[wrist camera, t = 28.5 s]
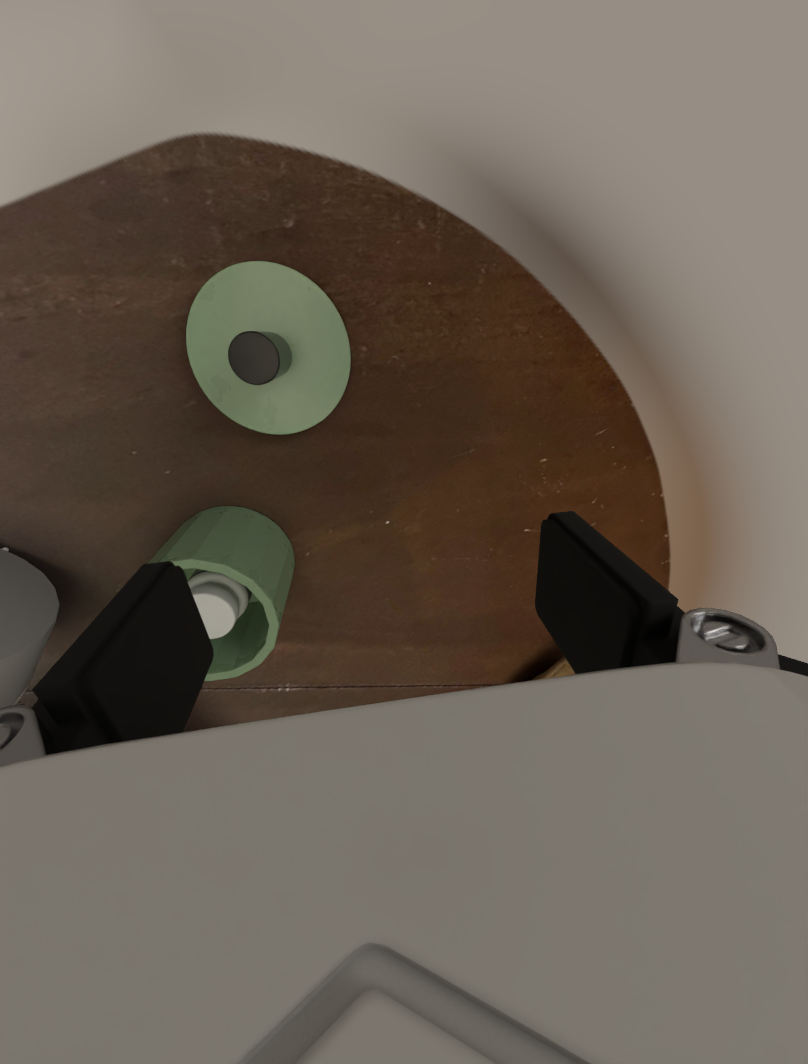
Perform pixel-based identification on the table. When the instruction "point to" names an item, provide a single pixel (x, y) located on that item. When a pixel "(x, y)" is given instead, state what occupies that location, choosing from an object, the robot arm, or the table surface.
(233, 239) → the table surface
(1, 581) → the alarm clock
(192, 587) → the pill bottle
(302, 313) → the tin lid
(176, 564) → the cup
